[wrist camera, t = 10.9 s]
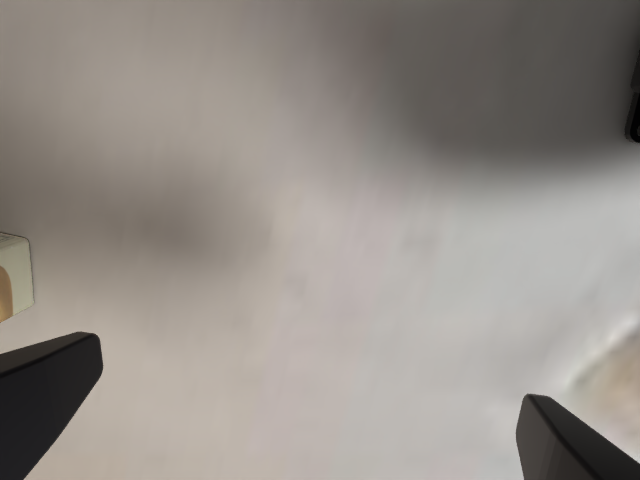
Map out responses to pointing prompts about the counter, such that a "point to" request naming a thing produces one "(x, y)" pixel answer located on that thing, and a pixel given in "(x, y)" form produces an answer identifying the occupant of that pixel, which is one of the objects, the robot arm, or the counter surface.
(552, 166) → the counter surface
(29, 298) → the skincare box
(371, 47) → the counter surface
